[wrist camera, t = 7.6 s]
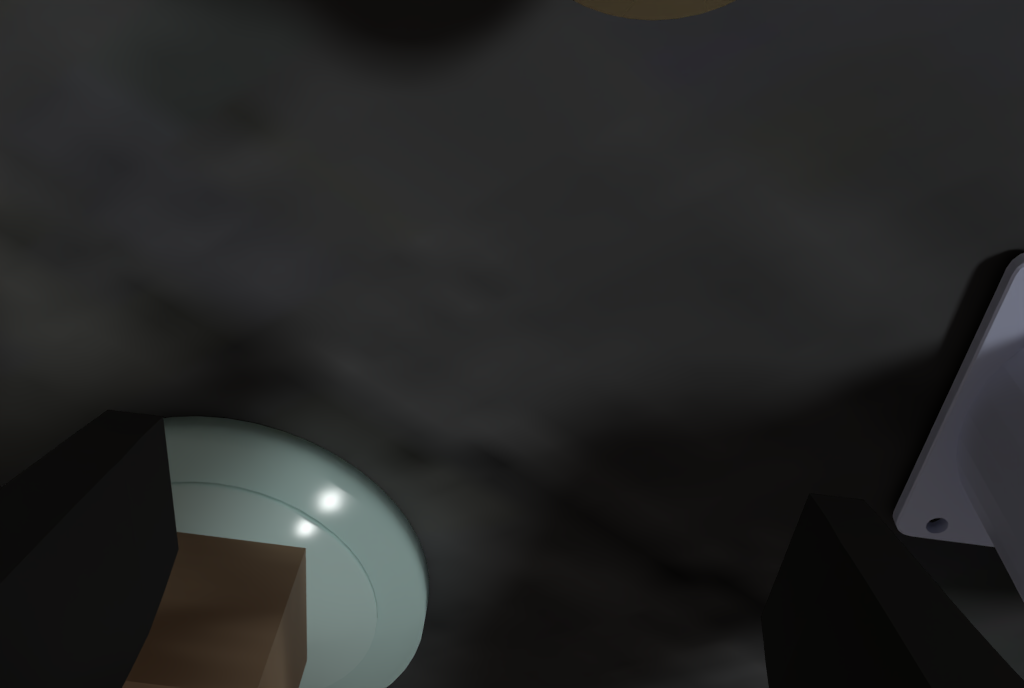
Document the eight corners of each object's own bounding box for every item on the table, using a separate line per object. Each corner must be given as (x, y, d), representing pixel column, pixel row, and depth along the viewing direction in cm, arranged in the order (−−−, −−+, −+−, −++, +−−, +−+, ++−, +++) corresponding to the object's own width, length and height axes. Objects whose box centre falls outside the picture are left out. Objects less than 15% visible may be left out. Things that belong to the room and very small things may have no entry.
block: (305, 547, 24) (254, 696, 20) (307, 659, 26) (261, 811, 22) (133, 525, 24) (49, 671, 20) (150, 640, 26) (78, 789, 22)
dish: (443, 446, 23) (437, 477, 22) (417, 713, 29) (412, 747, 28) (11, 389, 23) (-15, 419, 22) (73, 669, 29) (55, 702, 28)
